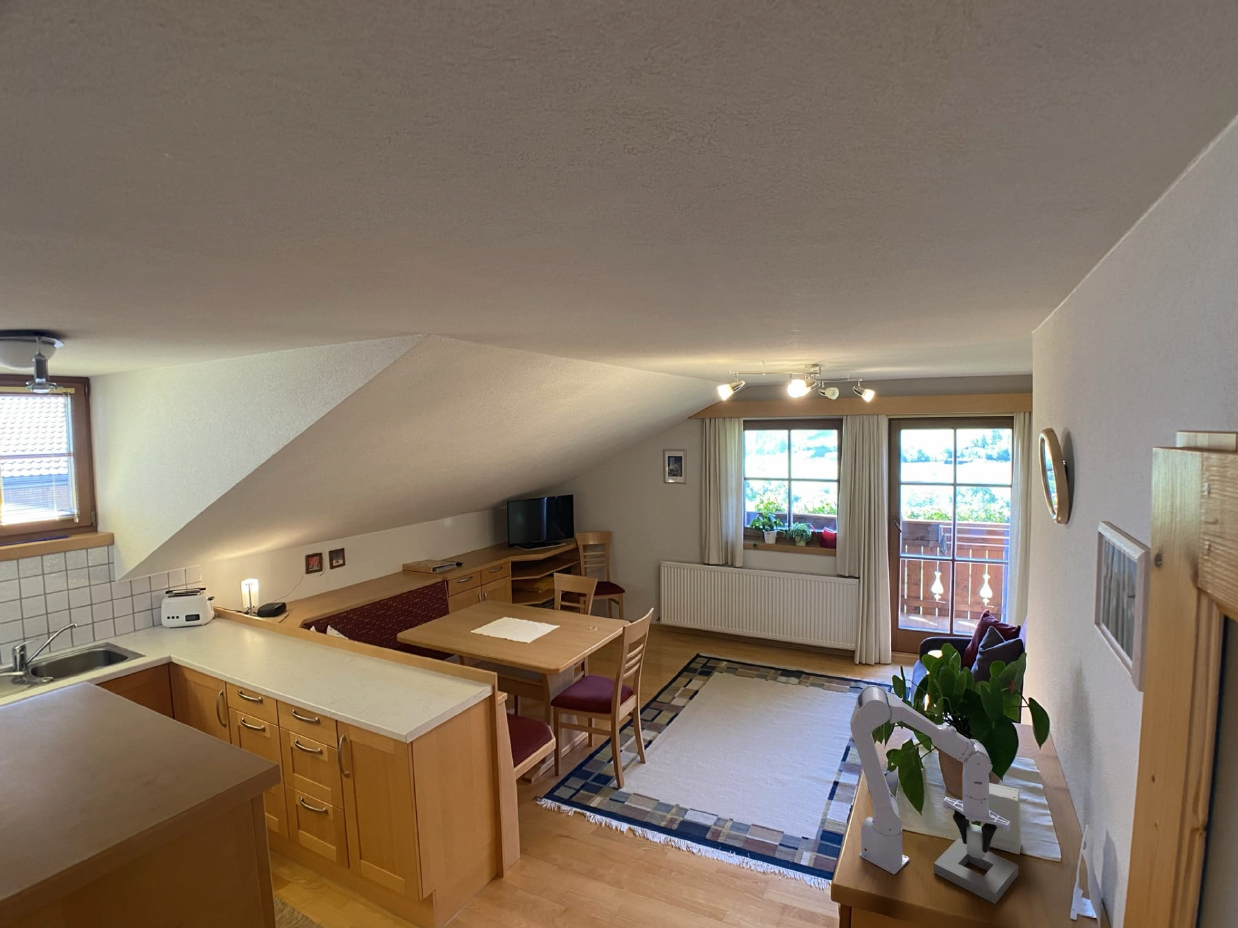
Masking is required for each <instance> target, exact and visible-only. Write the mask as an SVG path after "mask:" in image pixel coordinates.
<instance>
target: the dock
mask: <svg viewBox="0 0 1238 928" xmlns="http://www.w3.org/2000/svg"><path fill="white" fill-rule="evenodd" d="M968 863H970V864H972V865H974V866H976V867H978V868H980V869H982V870H984V871H987V872H986V873H985V875H982V874H980V873H978V872H976V871H974V870H973V869H972V870H971V869H970V868H968V867H966V865H967V864H968ZM933 873H934V874H936V875H937V876H940V877H941V878H944V879H946V880H947V881H949V882H951V883H954V884H955V885H957V886H959V887H961V888H963V889H965V890H968V891H969V892H971V893H973V894H974V895H976V896H979V897H980V898H982V899H984V900H985V901H988V902H991V903H992V904H994V905H996V903H998V901H999V900H1000V899H1001V898H1002V896H1003V895H1004V894H1005V892H1006V891H1007V890H1008V889H1009V887H1010V886H1011V885H1012V884H1013V882H1014V881H1015V880H1016V878H1017V877H1018V876H1019V864H1018V863H1015V862H1013V861H1010V860H1008V859H1007V858H1004V857H1002V856H1000V855H997V854H995V853H993V852H991V851H990V850H988V852H987V853H985V857H984V858H974V857H972V856H970V855H969V854H968V853H967V844H964V843H963V841H962V838H960V837H958V838H956V840H955V841H954V842H953V843H952V844H951V845H950V846H949V847H948V848H947V849H946V850H945V851H944V852H943V853H942V854H941V855H940V856H939V857H938V858H937V859H936V860H935V861H934V863H933Z"/></svg>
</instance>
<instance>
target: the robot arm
mask: <svg viewBox="0 0 1238 928" xmlns="http://www.w3.org/2000/svg"><path fill="white" fill-rule="evenodd" d="M855 702H856V703H855V705H854V709H853V712H852V714H851V718H850V720H849V721H850V722H849V723H850V725H849V726H850V731H851V732H850V733H851V735H852V738H853V741H854V744H855V748H856V751H857V755H858V757H859V760H860V763H861V766H862V771H863V773H864V776H865V780H866V783H867V785H868V789H869V792H870V797H871V800H872V801H871V803H872V807H873V815H874V816H873V817H872V816H867V817H866V818H865V819H864V821H863V822H862V825H861V828H860V843H861V844H860V846H861V847H860V853H859V857H861V858H862V859H865V860H867V861H868V862H870V863H872V864H874V865H875V866H878V867H879V868H881V869H883V870H885V871H887V872H888V873H891V874H892V875H895V874H897V873H898V872H899V871H900V870H901V869H902V868H903V867H904V866H905V865H906V864H907V863H908V862H910V857H908V856H907V855H904V853H903V822H902V820H901V816H900V810H899V802H898V798H897V797H895V795H894V794H893V793H892V792H891V788H890V787H889V785H888V782H887V779H886V776H885V772H884V769H883V765H882V763H881V760H880V756H879V753H878V750H877V746H876V744H875V740H874V738H873V734H872V732H873V731H874V730H875V729H877V728H879V727H880V726H882V725H884V724H885V723H887V722H888V721H889V724H895V723H899V722H903V723H904V724H906V725H908V726H909V727H911V728H913V729H915V730H916V731H919V732H921V733H922V734H923V735H926V736H928V737H929V738H930V739H931V742H932V745H933V746H934V747H936V748H938V749H939V750H941V751H942V752H944V753H946V754H947V755H949V756H951V757H952V758H954V759H955V760H957V761H959V762H961V763H962V775H961V776H962V800H960V799H955V798H950V797H947V796H946V797H945V798H944V799H943V808H945V809H946V810H947V809H951V810H953V811H954V812H953V814H952V819H953V821H954V822H955V824H956V827H957V828H958V830H959V833H960V835H961V839H962V841H963V843H964V844H967V835H966V827H967V826H968V825H970V821H971V822H981V823H983V822H985V824H983V825H982V826H981V827H982V828H981V830H982V835H983V852H985V853H987V852H988V851H990V847H991V846H990V843H991V840H992V837H993V835H994V833H995V831H996V830H997V828H1001V829H1003V831H1004V832H1006V833H1008V832H1009V830H1010V821H1008V820H1005V819H1003V818H1002V817H1000V816H998V815H997V814H995V813H993V812H992V811H990V810H989V783H990V775H989V774H990V772H992V769H993V767H994V766H993V764H992V761H991V758H990V756H989V753H988V752H987V750H986V748H985V746H984V745H983V744H982V743H981V742H980V741H979V740H978V739H977V740H976V739H972V738H970V739H969V738H968V737H965V736H964V735H962V733H961V734H960V733H959V732H958V731H957V729H956V727H954V726H953V725H950V726H948V725H947V724H945V723H944V724H942V723H941V724H936V723H935V722H933V721H932V720H930V719H928V718H927V717H925V716H924V715H923V714H921V713H919V711H916V709H914V708H913V707H911V706H910V705H908V704H906V703H905V702H904V701H902V700H901V699H900V698H899V697H897V696H895V694H893V693H891V692H889V691H887V690H886V691H885V690H884V689H883V688H882V687H881V686H878V685H875V684H873V685H872V684H871V685H867V686H865V687H864V688H863V689H862V691H860V692H859V694H858V695H857V696H856V701H855Z"/></svg>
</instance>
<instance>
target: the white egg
mask: <svg viewBox="0 0 1238 928" xmlns="http://www.w3.org/2000/svg"><path fill="white" fill-rule="evenodd" d="M981 828H982V826H980V825H977V824H969V825H968V826H967V827H966V835H967V853H968V854H969V855H970V856H972V857H974V858H984V857H985V852H983V835H982V830H981Z"/></svg>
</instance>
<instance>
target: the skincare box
mask: <svg viewBox="0 0 1238 928" xmlns="http://www.w3.org/2000/svg"><path fill="white" fill-rule="evenodd" d="M1020 801H1021V800H1020V789H1018V788H1015V787H1014V788H1013V787H1008V786H1005V785H1001V784H996V783H991V782H989V810H990V811H992V812H993V813H995V814H997V815H998V816H1000V817H1002V818H1003V819H1005V820H1008V821H1010V830H1009V832H1008V833H1006V832H1004V831H1003V829H1001V828H997V830H996V831H995V833H994V835H993V837H992V840H991V843H990V847H992V848H995V849H999V850H1002V851H1006V852H1009V853H1012V854H1016V855H1020V853H1021V845H1022V825H1021V803H1020ZM982 823H983V825H984V824H985V822H982Z"/></svg>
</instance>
